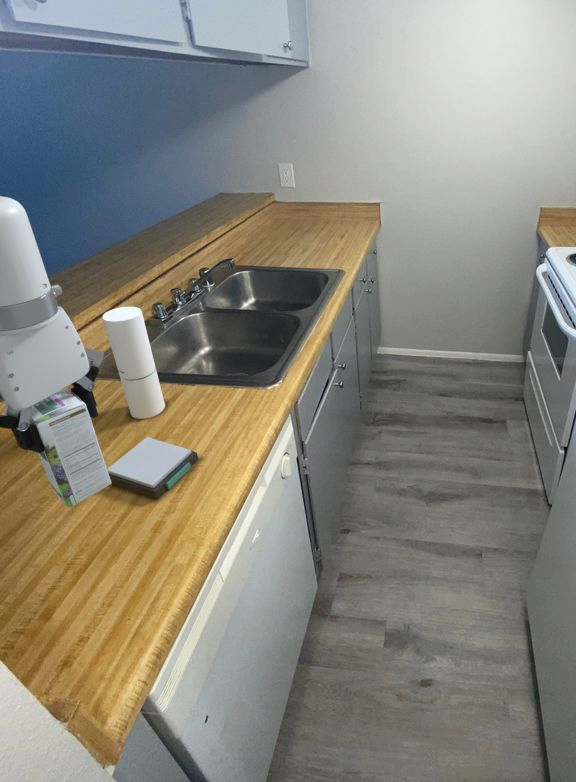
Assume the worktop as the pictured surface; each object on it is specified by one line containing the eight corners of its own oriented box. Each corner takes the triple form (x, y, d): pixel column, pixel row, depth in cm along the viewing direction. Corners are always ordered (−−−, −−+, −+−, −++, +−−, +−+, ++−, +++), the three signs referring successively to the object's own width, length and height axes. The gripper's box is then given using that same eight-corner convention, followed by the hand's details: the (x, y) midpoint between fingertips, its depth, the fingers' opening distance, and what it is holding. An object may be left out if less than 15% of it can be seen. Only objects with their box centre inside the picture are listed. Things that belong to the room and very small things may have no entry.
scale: (107, 484, 90) (102, 471, 88) (151, 447, 99) (148, 434, 97) (159, 502, 86) (155, 489, 85) (200, 462, 96) (197, 449, 94)
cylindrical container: (151, 398, 114) (126, 304, 102) (172, 406, 111) (149, 311, 99) (124, 414, 108) (94, 316, 96) (145, 423, 105) (117, 324, 94)
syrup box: (51, 489, 66) (15, 406, 59) (95, 465, 70) (66, 385, 64) (69, 509, 63) (33, 424, 56) (114, 483, 68) (86, 401, 61)
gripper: (64, 278, 62) (99, 389, 71) (-99, 335, 48) (-30, 467, 56) (107, 288, 60) (138, 401, 68) (-49, 350, 46) (14, 485, 54)
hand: (62, 430), depth 62 cm, fingers closed on syrup box, 6 cm apart
